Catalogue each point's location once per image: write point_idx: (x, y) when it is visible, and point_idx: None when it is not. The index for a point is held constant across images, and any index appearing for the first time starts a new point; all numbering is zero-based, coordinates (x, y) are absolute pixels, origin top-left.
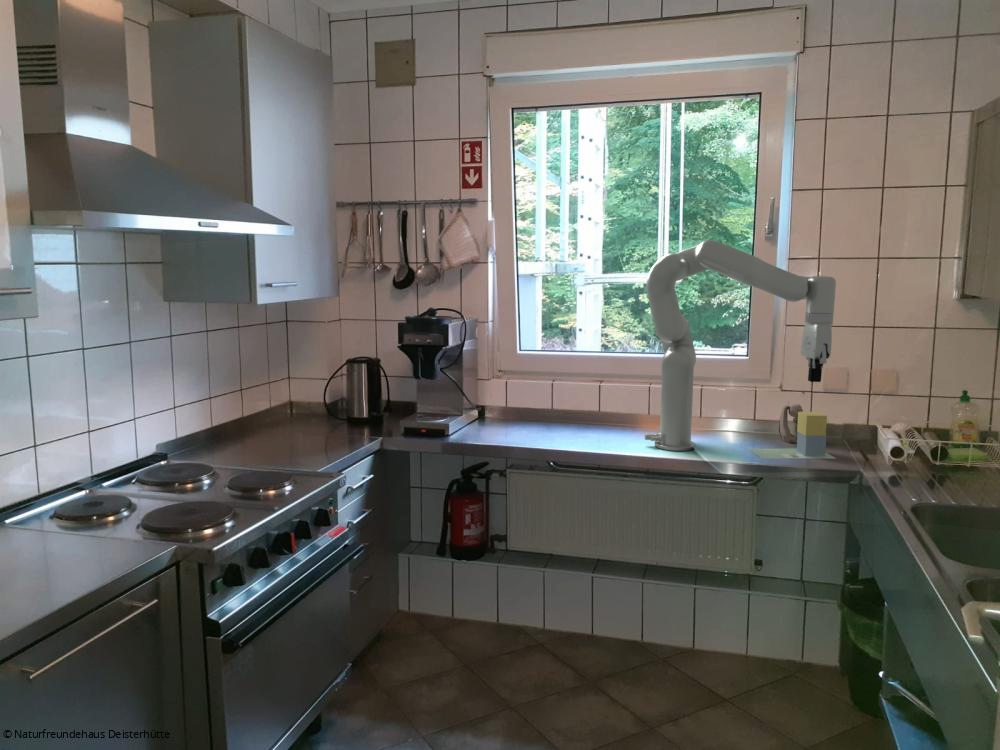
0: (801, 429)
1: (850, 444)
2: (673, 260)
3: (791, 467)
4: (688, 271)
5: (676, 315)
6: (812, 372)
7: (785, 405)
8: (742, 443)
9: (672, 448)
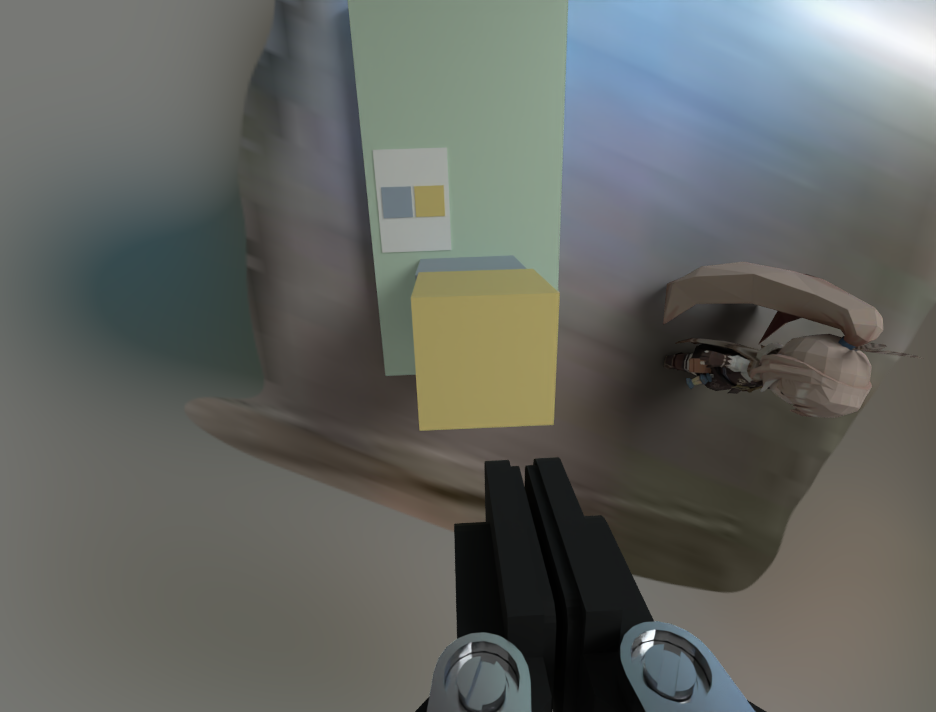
0: (477, 274)
1: (664, 525)
2: None
3: (278, 136)
4: None
5: None
6: (500, 573)
7: (875, 325)
8: (761, 59)
9: None
